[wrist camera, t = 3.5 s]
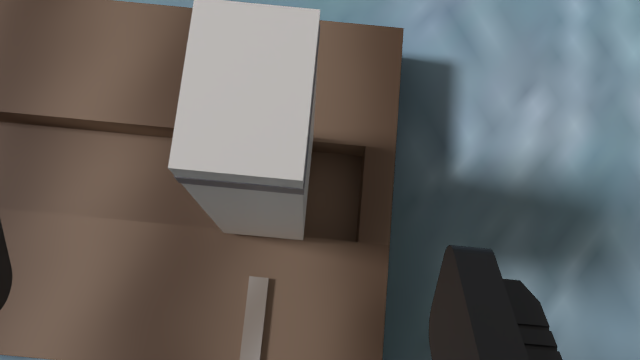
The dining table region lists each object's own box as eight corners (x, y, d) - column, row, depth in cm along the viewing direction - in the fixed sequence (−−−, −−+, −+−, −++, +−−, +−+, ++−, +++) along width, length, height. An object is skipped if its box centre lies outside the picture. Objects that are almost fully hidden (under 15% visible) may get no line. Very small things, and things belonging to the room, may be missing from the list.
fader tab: (313, 144, 21) (321, 8, 12) (303, 245, 20) (303, 182, 11) (240, 137, 21) (193, -4, 12) (227, 238, 20) (166, 168, 11)
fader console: (394, 55, 23) (404, 25, 21) (371, 383, 20) (381, 390, 18) (-258, -7, 23) (-321, -45, 21) (-371, 314, 20) (-459, 312, 18)
